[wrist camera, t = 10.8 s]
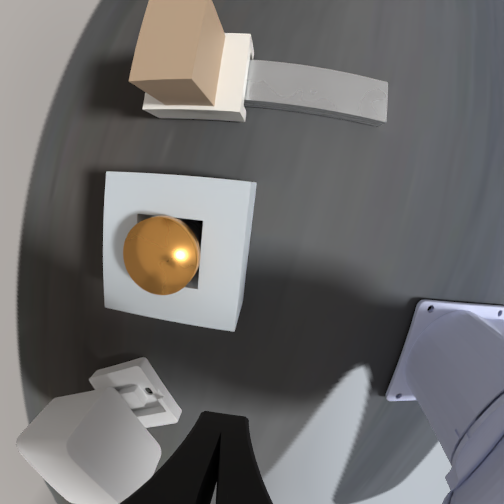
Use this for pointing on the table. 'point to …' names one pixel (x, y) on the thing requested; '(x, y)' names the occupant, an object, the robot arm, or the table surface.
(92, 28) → the table surface
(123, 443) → the security camera
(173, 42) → the carriage
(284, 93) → the rail
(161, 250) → the gold round knob
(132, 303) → the grey square-hole block
